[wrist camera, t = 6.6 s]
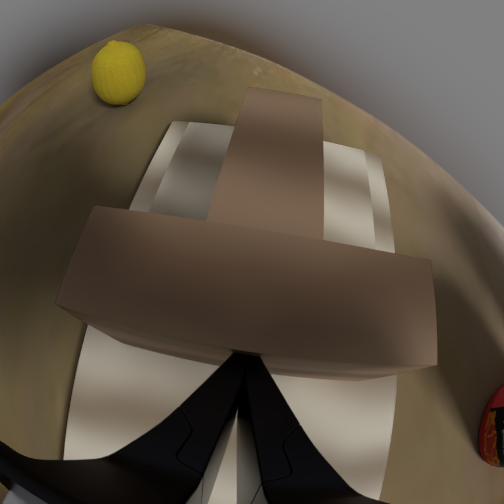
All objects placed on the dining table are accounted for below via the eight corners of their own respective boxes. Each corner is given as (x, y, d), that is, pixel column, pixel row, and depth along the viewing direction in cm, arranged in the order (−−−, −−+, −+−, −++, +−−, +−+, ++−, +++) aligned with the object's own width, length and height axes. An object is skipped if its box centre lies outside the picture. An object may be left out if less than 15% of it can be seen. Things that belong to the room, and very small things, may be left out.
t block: (358, 381, 14) (437, 365, 8) (122, 343, 14) (54, 303, 8) (358, 192, 20) (395, 119, 14) (181, 163, 20) (170, 82, 14)
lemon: (158, 104, 26) (148, 36, 19) (109, 127, 24) (88, 59, 17) (140, 86, 28) (130, 27, 20) (96, 106, 26) (79, 47, 19)
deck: (358, 535, 10) (366, 542, 9) (70, 489, 10) (62, 493, 9) (375, 164, 23) (379, 155, 22) (174, 131, 24) (173, 121, 23)
